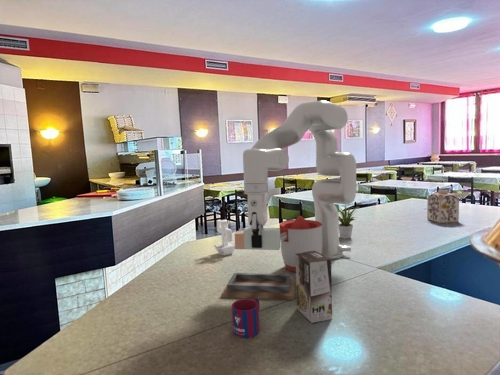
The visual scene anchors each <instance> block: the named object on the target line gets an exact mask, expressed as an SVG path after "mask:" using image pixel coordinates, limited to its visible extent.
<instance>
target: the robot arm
mask: <svg viewBox="0 0 500 375" xmlns="http://www.w3.org/2000/svg"><path fill="white" fill-rule="evenodd" d="M348 119H349V115H348V112H347V110H346V108H345V107H344V106H342V105H339V104H337V103H333V102H331V101H327V100H315V101H309V102H308V101H307V102H302V103H300V104H298V105H297V106H295V107H294V109H293V110H292V111H291V113H290V114H289V115H288V116H287V117H286V119H285V120H284V121H283V123H282V124H281V125H279V126H278V127H276V128H275V129H273V130H271V131H269V132H268V133H267V134H265V135H263V136H262V137H260V138H259V139H258V140H257V141H256V142H255V143H254V145H253V146H252V147H251V148H249V149H245V150H244V151H243V153H242V165H243V166H242V168H243V170H242V171H243V191H244V192H243V194H245V195H247V222H248V225H249V226H250V228H251V241H252V248H262V235H261V228H264V226H265V225H266V224H267V222H268V209H267V208H268V207H267V206H268V204H267V194H268V193H269V176H268V175H269V174H268V172H279V171H282V170H284V169H285V168H286V167H287V166H288V164H289V162H290V160H289V159H290V157H289V154H288V153H287V151H286V150H285V148H288V147H291V146H293V145H295V144H298V143H299V142H300V141H301V140H302V138H304V135H305V134H306V133H307V132H308V130H309V132H310V133H311V134H312V136H313V138H314V140H315V148H316V149H315V166H316V169H315V170H316V172H317V174H318V175H320V176H324V177H340V179H327V178H325V179H319V180H316V181H314V183H313V185H312V187H311V188H312V189H311V192H312V193H311V194H312V198H313V203H314V204H313V205H314V221H318V222H320V223H322V226H321V239H322V250H321V254H322V255H324V256H326V257H328V258H330V259H331V260H335V259H339V258H342V257H343V256H344V252H352V247H351V246H348V245H341V244H340V233H339V224H340V221H339V216H340V213H339V211H338V209H337V206H336V205H335V204H339V205H340V204H341V205H349V204H350V205H351V204H352V203H353V202H354V201H355V199H356V195H357V161H356V158H355V156H354V155H353V154H352V153H350V152H348V151H346V152H345V151H342V152H341V151H339V150H338V139H337V136H336V134H335V133H334V132H333V130H340V129H344V127H346V125H347V124H348ZM258 228H259V229H258ZM258 230H259V231H258Z"/></svg>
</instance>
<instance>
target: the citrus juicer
mask: <svg viewBox="0 0 500 375" xmlns="http://www.w3.org/2000/svg"><path fill="white" fill-rule="evenodd" d="M278 226H279V228H280V250H281V256H282V260H283V263H284V266H285V268H286V270H288V271H290V272H295V273H296V260H295V254H297V253H303V252H308V251H317V252H318V253H320V254H321V250H322V239H321V226H322V223H320V222H318V221H315V220H314V219H313V220H312V219H305V217H303V216H302V215H299V216H297V218H296V219H292V220H291V219H290V220H286V221H285V220H284V221H282V222H280V223H279V225H278Z"/></svg>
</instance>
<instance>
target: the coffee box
mask: <svg viewBox="0 0 500 375" xmlns="http://www.w3.org/2000/svg"><path fill="white" fill-rule="evenodd" d="M295 260H296V272H295V287H296V304H297V305H296V306H297V307H296V309H297V310H298V311H299V312H300V313H301V314H302V315H303V316H304V317H305V318H306V319H307V320H308V321H309V322H310V323H311V324H314V323H319V322H323V321H330V320H333V298H332V297H333V296H332V294H333V293H332V292H333V291H332V290H333V288H332V285H333V284H332V259H330V258H328V257H326V256H324V255H322V254H320V253H318V252H317V251H308V252H303V253H297V254H295Z"/></svg>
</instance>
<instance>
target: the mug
mask: <svg viewBox="0 0 500 375" xmlns="http://www.w3.org/2000/svg"><path fill="white" fill-rule="evenodd" d="M231 321H232V322H231V323H232V333H233V335H235V337H238V338H242V339H243V338H244V339H247V338H252V337H253V338H254V337H255V336H256V335H259V333H260V328H261V327H260V326H261V325H260V298H240V299H238V300H235V301H233V302H232V304H231Z"/></svg>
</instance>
